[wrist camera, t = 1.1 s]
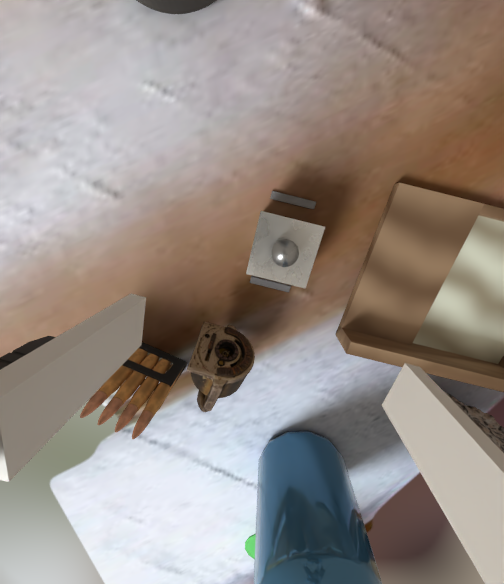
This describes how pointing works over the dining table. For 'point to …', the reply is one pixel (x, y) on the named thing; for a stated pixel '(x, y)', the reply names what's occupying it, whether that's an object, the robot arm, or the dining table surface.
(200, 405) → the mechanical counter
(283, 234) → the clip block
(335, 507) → the wine bottle
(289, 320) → the dining table surface
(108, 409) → the ammunition clip
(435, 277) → the wooden shallow box
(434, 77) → the dining table surface
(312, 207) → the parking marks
